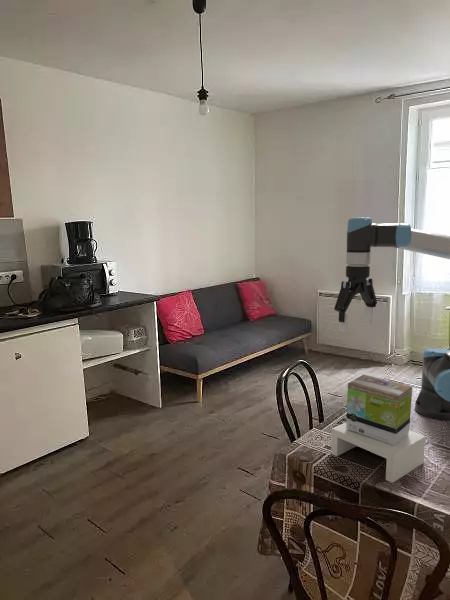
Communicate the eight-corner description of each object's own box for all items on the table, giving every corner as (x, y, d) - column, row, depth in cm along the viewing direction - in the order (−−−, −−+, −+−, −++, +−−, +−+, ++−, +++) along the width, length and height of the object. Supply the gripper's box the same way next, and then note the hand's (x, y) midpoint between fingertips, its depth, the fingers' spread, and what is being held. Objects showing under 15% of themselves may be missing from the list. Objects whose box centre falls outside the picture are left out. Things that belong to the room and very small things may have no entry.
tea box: (344, 430, 131) (346, 381, 129) (360, 419, 138) (362, 373, 136) (395, 447, 121) (398, 394, 118) (410, 434, 128) (413, 384, 126)
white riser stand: (363, 437, 144) (364, 414, 142) (423, 462, 128) (425, 436, 127) (331, 453, 134) (331, 428, 132) (392, 482, 118) (393, 454, 117)
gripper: (370, 262, 158) (367, 321, 161) (324, 267, 143) (322, 332, 146) (389, 263, 152) (386, 325, 156) (343, 268, 137) (341, 336, 140)
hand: (355, 328), depth 151 cm, fingers open, 13 cm apart
